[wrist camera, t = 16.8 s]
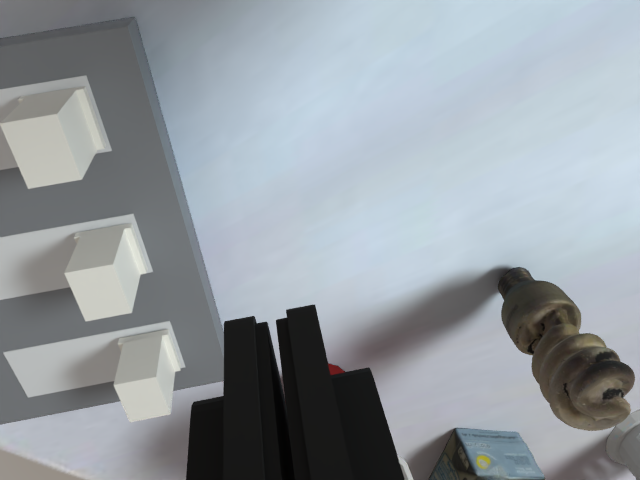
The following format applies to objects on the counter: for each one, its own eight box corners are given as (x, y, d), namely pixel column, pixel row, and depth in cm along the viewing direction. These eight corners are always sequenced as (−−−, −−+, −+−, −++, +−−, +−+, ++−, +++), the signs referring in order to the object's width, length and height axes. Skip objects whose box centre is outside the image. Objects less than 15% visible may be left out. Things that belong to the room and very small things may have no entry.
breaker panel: (-178, 66, 33) (-213, 80, 30) (135, 16, 34) (127, 26, 31) (12, 396, 47) (-1, 425, 44) (229, 354, 48) (229, 380, 45)
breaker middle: (75, 233, 37) (57, 274, 33) (131, 223, 37) (120, 262, 33) (94, 278, 39) (78, 322, 35) (147, 268, 39) (138, 311, 35)
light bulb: (532, 300, 50) (638, 439, 37) (471, 307, 49) (558, 451, 36) (543, 245, 47) (662, 375, 34) (479, 252, 46) (576, 386, 33)
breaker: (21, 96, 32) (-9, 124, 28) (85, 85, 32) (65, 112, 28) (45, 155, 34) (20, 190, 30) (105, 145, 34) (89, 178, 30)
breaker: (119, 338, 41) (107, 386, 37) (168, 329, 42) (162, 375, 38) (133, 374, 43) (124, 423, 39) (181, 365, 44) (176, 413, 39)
